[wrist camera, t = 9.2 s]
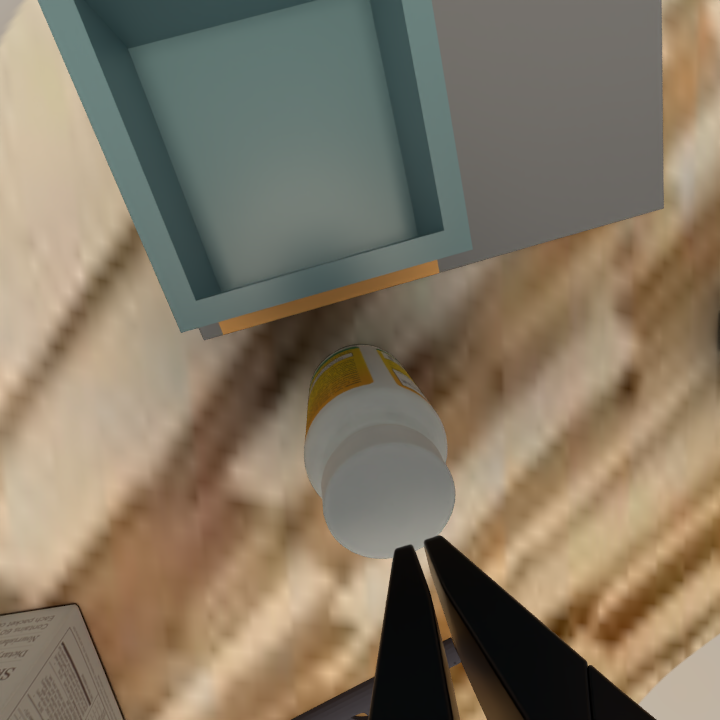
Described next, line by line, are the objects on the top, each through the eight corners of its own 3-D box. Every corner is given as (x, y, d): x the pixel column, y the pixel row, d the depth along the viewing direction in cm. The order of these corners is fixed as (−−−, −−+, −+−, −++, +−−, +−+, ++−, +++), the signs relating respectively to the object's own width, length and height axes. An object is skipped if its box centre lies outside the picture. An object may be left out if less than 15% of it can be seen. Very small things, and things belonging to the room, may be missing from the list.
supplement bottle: (413, 348, 19) (500, 430, 10) (396, 437, 21) (460, 580, 12) (314, 336, 19) (310, 413, 9) (303, 430, 20) (291, 576, 11)
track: (647, -85, 15) (662, -100, 15) (653, 209, 19) (665, 207, 18) (93, 58, 14) (82, 49, 14) (207, 337, 18) (203, 340, 17)
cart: (371, 8, 14) (406, -151, 9) (422, 252, 17) (472, 249, 11) (135, 70, 14) (14, -55, 8) (226, 308, 17) (180, 333, 11)
